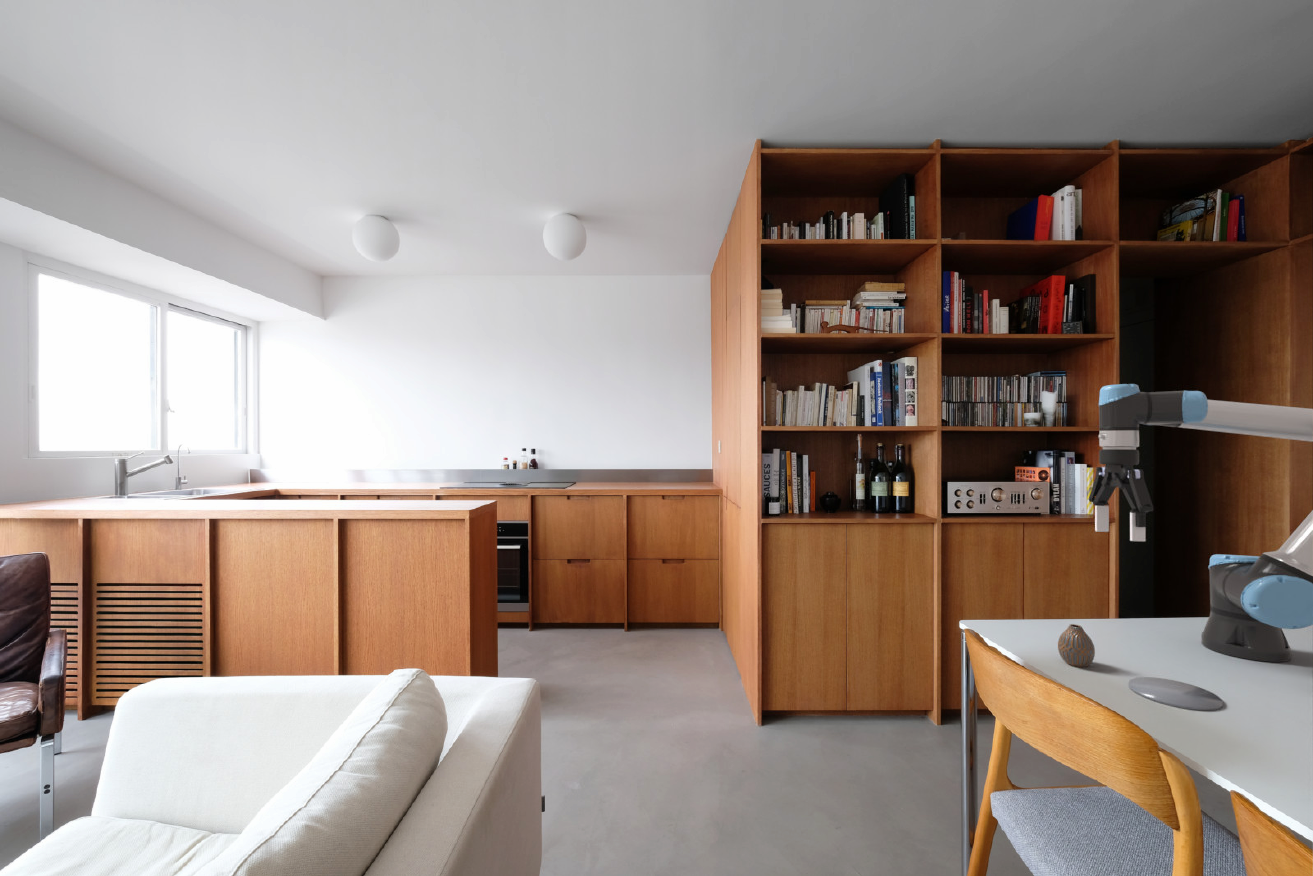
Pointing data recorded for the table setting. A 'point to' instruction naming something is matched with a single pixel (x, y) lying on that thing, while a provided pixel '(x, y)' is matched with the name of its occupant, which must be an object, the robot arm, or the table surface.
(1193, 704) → the disc
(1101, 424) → the robot arm
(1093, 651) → the vase
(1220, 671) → the table surface
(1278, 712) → the table surface
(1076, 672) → the table surface
